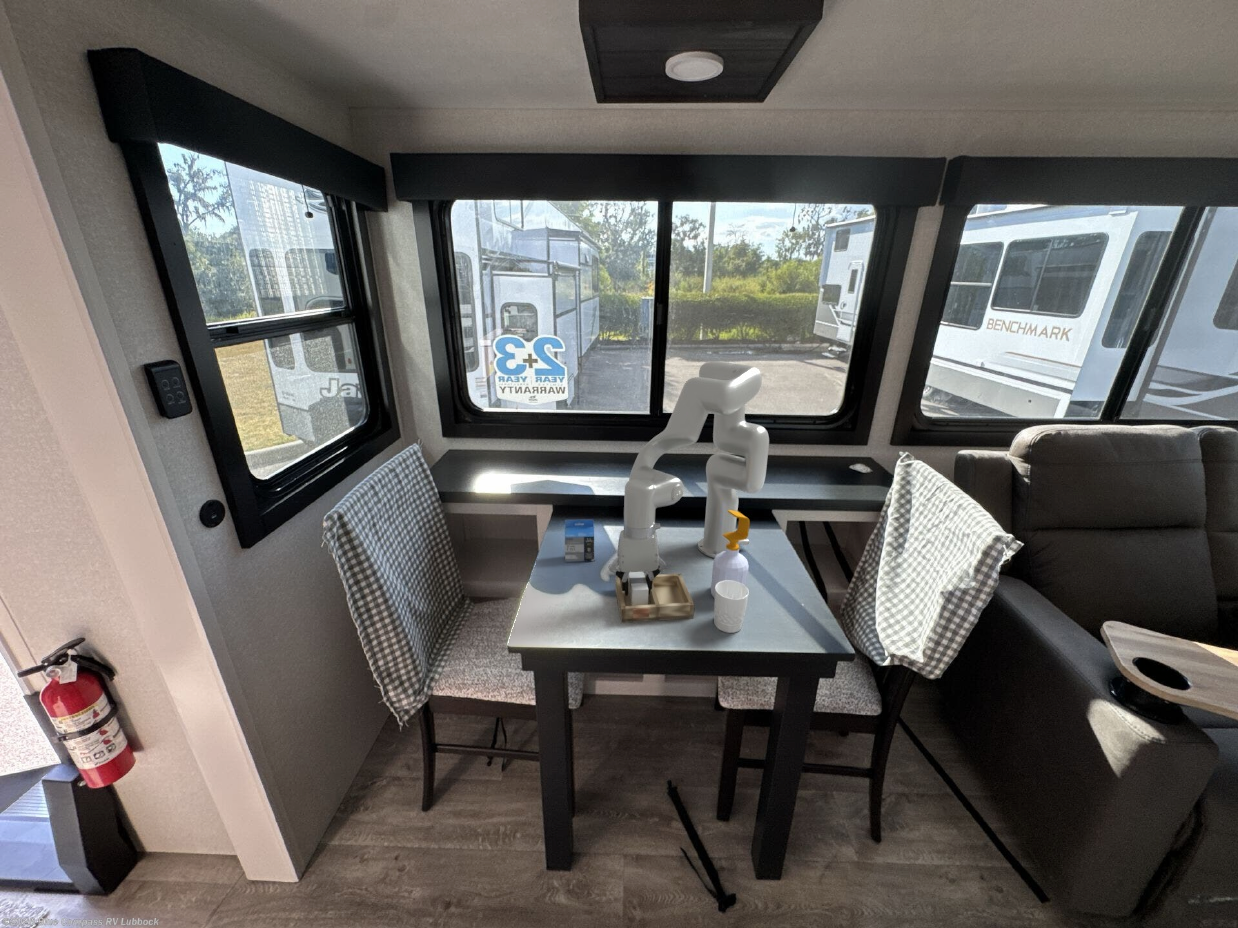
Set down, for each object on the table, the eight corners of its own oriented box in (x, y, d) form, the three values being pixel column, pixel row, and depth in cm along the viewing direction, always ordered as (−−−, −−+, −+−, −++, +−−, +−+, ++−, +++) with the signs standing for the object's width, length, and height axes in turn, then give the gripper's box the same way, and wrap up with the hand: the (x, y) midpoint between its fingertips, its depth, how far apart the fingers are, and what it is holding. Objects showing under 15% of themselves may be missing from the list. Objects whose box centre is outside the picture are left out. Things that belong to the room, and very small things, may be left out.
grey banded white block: (642, 591, 127) (643, 571, 125) (647, 609, 120) (648, 588, 117) (627, 591, 127) (628, 572, 125) (631, 610, 119) (632, 589, 117)
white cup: (721, 609, 122) (724, 576, 118) (749, 622, 117) (754, 588, 114) (705, 625, 116) (709, 590, 112) (735, 639, 111) (739, 603, 108)
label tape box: (564, 562, 142) (564, 525, 138) (565, 555, 146) (564, 519, 142) (594, 561, 142) (594, 525, 138) (594, 554, 146) (594, 518, 142)
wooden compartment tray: (679, 585, 132) (680, 572, 130) (693, 618, 118) (694, 605, 117) (615, 588, 129) (615, 576, 128) (621, 623, 116) (621, 609, 114)
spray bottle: (704, 588, 130) (711, 507, 122) (732, 582, 134) (741, 502, 125) (722, 607, 123) (731, 521, 114) (751, 600, 126) (762, 516, 117)
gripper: (669, 520, 120) (666, 581, 127) (603, 523, 118) (602, 585, 125) (676, 534, 113) (672, 598, 119) (605, 537, 111) (605, 602, 118)
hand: (636, 591), depth 122 cm, fingers open, 5 cm apart
